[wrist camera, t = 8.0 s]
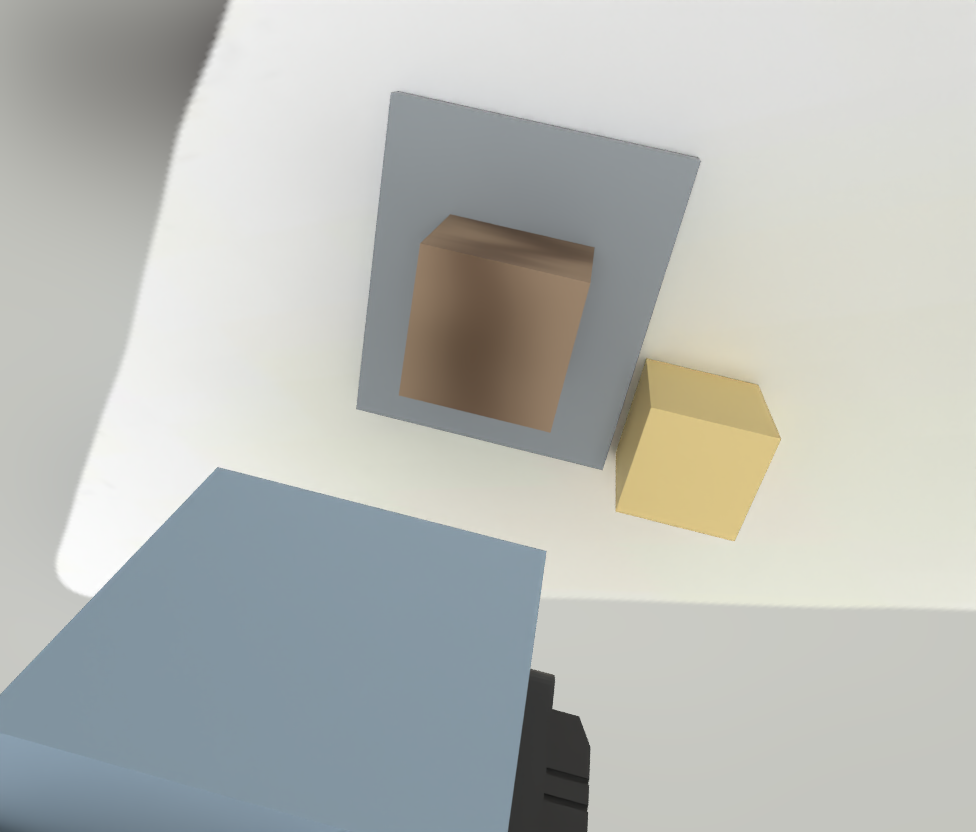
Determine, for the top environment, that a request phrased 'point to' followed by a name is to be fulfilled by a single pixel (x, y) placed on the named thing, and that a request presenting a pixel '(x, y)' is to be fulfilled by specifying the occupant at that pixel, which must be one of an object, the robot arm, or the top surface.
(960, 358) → the top surface
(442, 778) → the blue brick
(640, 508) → the ochre brick
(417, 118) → the slate board
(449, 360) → the walnut brick
